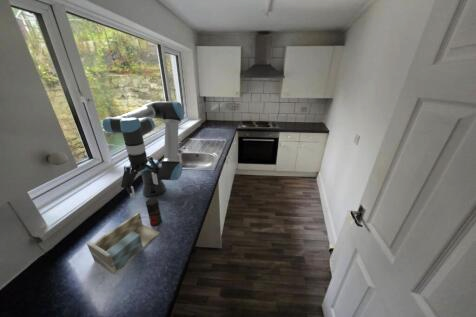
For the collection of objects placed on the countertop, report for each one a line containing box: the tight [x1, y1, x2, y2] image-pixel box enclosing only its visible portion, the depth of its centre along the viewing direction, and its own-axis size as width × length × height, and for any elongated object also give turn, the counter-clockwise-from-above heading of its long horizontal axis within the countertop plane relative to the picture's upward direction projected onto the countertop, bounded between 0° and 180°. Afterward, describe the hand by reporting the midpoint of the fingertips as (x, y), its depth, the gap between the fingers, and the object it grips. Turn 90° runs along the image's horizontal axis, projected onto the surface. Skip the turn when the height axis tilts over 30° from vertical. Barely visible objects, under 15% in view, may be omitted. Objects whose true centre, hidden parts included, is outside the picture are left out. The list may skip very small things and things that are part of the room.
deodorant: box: [145, 197, 163, 227], centre depth 98 cm, size 6×6×15 cm
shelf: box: [86, 211, 161, 275], centre depth 84 cm, size 24×14×11 cm, turn 155°
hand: (145, 190), depth 91 cm, fingers open, 13 cm apart
